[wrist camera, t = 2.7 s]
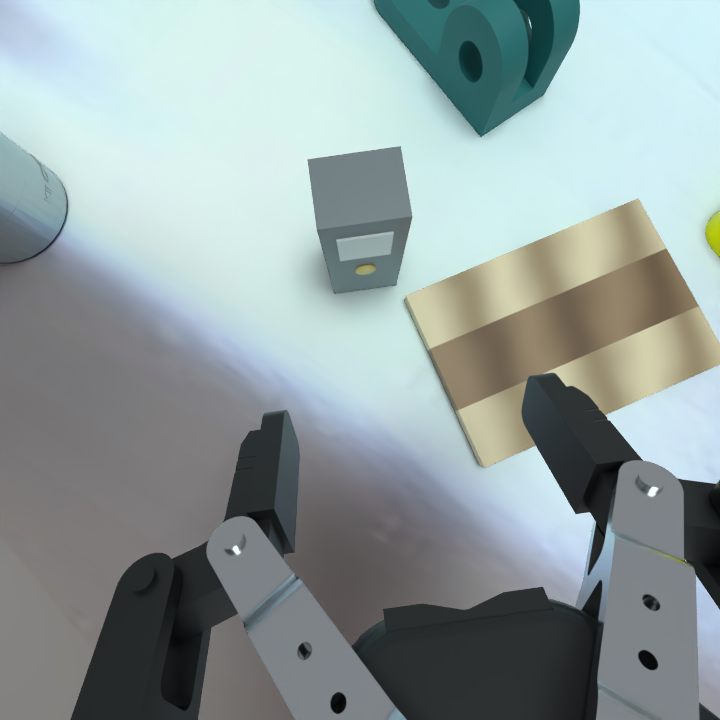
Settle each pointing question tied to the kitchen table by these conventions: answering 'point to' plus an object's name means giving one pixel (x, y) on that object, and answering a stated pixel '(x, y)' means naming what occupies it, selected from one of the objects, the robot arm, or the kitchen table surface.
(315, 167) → the grey upright block
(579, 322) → the plywood panel
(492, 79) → the bracket
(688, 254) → the kitchen table surface
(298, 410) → the kitchen table surface
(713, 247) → the element tile
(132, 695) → the robot arm
